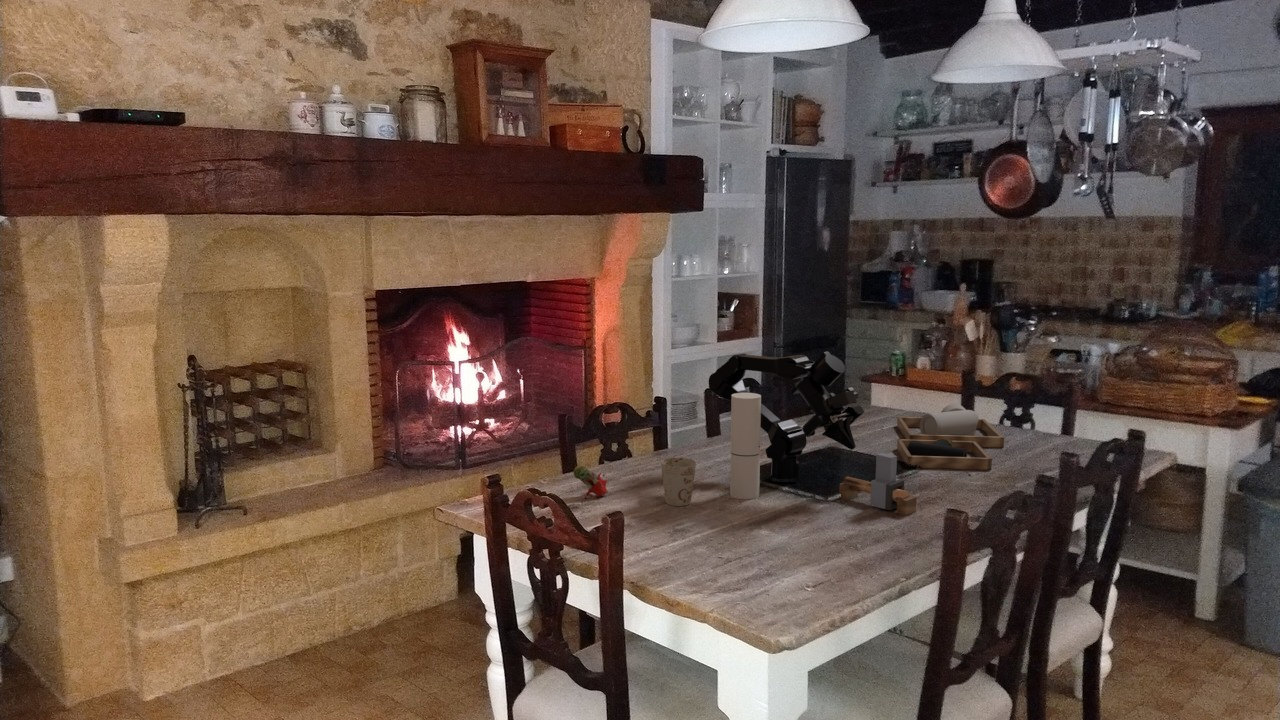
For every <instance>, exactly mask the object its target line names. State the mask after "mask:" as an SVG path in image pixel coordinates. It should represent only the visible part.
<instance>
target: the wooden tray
mask: <svg viewBox="0 0 1280 720" xmlns="http://www.w3.org/2000/svg"><path fill="white" fill-rule="evenodd" d="M935 441H936V440H908V439H905V438H903V439H902V438H901V439H899V438H898V439H897V440H896V442H897V443H896V450H897V452H898V453H899V455H900V457H901V458H902V460H903V462H904V463H905V462H906V463H907V464H911V465H918V466H921V467H922V468H924V469H925V468H928V469H957V470H958V469H959V470H992V466H993V464H992V463H993V458H992V457H991V456H990V454H988V453H987V452H986V451H985V450H984V449H983V447H980V446H979V445H978V444H977V443H976V441H952V445H953V447H956V448H964V449H967V453H972V454H973V455H974V456H971V457H970V456H967V457H942V456H911V454H910V453H909V451H908V446H909V443H910V442H918V443H925V444H933V445H934V443H935ZM906 463H905V464H906Z"/></svg>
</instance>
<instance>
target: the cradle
mask: <svg viewBox="0 0 1280 720" xmlns="http://www.w3.org/2000/svg"><path fill="white" fill-rule="evenodd" d="M838 489H839V493H840V494H841V498H840V499H843V500H846V501H848V500H851V499H854V498H856V497H859V492H857V491H853V490H851V489H850V485H846V484H843V482H842V483H839V488H838ZM916 512H917V496H916V495H912V494H910V496H909V497H907V498H904V499H901V498H898V499H897V508H896V514H899V515H902V516H909V515H911V514H913V513H916Z"/></svg>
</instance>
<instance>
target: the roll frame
mask: <svg viewBox="0 0 1280 720" xmlns="http://www.w3.org/2000/svg"><path fill="white" fill-rule="evenodd" d="M921 418H922V417H917V416H915V417H911V416H909V417H907V416H898V417H897V424H896V427H897V428H898V429H899V431H900V432H901V434H902V436H903V438H904V439H908V440H937V439H947V440H952V441H976V443H977V444H978V445H979V446H980V447H981V448H1004V447H1005V437H1004V436H1003V434H1001V433H1000V432H999V431H998V430H997V429H996V428H995V427H994V426H993V425H991V424H990V423H989V422H988V421H987V420H986V419H984V418H979V420H978V424H977V426H976V430H982V431H983V432H984V433H985V434H986V435H987V436H985V435H974V436H958V435H922V434H914V433H912V431H911V429H910V428H920V421H921Z"/></svg>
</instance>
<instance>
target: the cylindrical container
mask: <svg viewBox="0 0 1280 720" xmlns="http://www.w3.org/2000/svg"><path fill="white" fill-rule="evenodd" d="M730 402H731V403H730V404H731V407H730V411H731V412H730V414H731V415H730V468H729V470H730V478H729V483H730V484H729V494H730V496H731V497H732V498H735V499H739V500H753V499H757V498H758V497H760V468H761V467H760V466H761V463H760V462H761V403H762V395H761V394H759V393H755V392H749V393H735V394H732V397H731V401H730Z"/></svg>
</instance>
